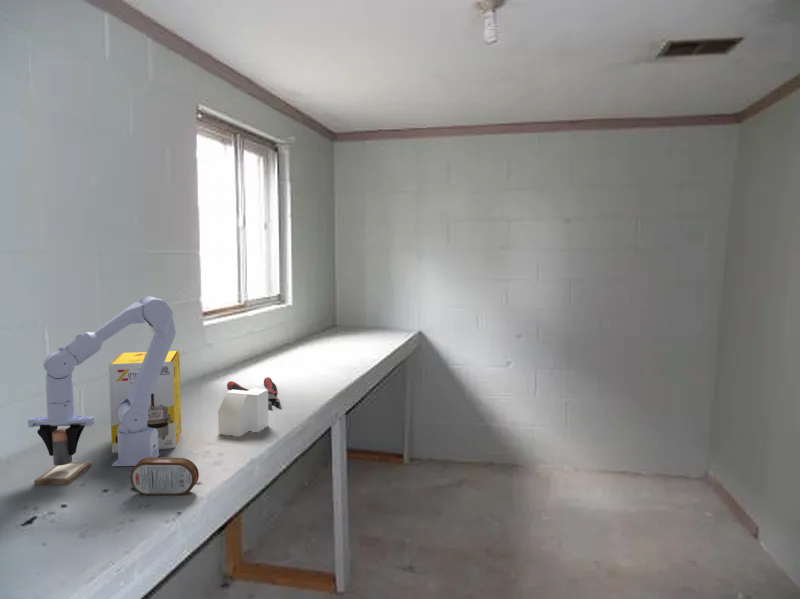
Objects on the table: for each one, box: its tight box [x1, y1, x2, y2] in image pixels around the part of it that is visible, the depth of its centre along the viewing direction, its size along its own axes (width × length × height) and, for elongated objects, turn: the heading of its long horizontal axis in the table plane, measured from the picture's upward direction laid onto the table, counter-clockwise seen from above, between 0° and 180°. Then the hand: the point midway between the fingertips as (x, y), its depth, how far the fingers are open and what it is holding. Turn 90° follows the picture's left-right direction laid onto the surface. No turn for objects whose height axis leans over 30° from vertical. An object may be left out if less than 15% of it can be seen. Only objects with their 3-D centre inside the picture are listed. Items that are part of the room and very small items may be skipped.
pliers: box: [226, 376, 281, 411], centre depth 211 cm, size 37×18×3 cm, turn 29°
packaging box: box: [108, 350, 182, 454], centre depth 161 cm, size 16×16×25 cm
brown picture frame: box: [33, 461, 92, 486], centre depth 138 cm, size 8×11×1 cm
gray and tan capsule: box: [52, 427, 73, 466], centre depth 137 cm, size 4×4×8 cm
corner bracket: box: [217, 387, 269, 437], centre depth 172 cm, size 11×11×12 cm
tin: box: [129, 457, 200, 496], centre depth 128 cm, size 15×3×8 cm, turn 92°
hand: (62, 454), depth 137 cm, fingers closed on gray and tan capsule, 4 cm apart
